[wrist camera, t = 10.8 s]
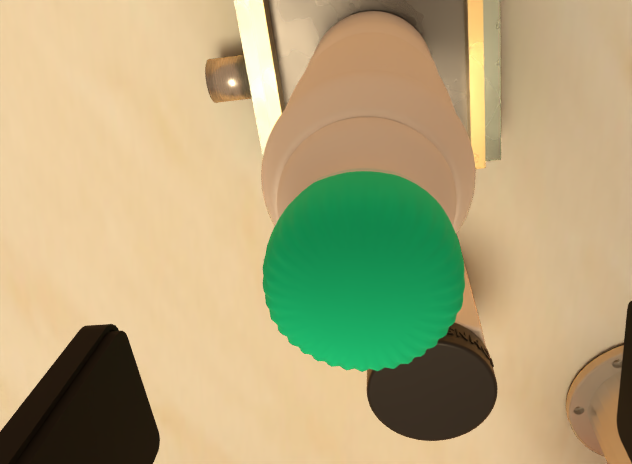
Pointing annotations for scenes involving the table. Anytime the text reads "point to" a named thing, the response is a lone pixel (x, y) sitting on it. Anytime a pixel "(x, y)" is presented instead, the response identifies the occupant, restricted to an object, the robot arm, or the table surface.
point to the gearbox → (338, 3)
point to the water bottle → (367, 199)
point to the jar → (439, 383)
